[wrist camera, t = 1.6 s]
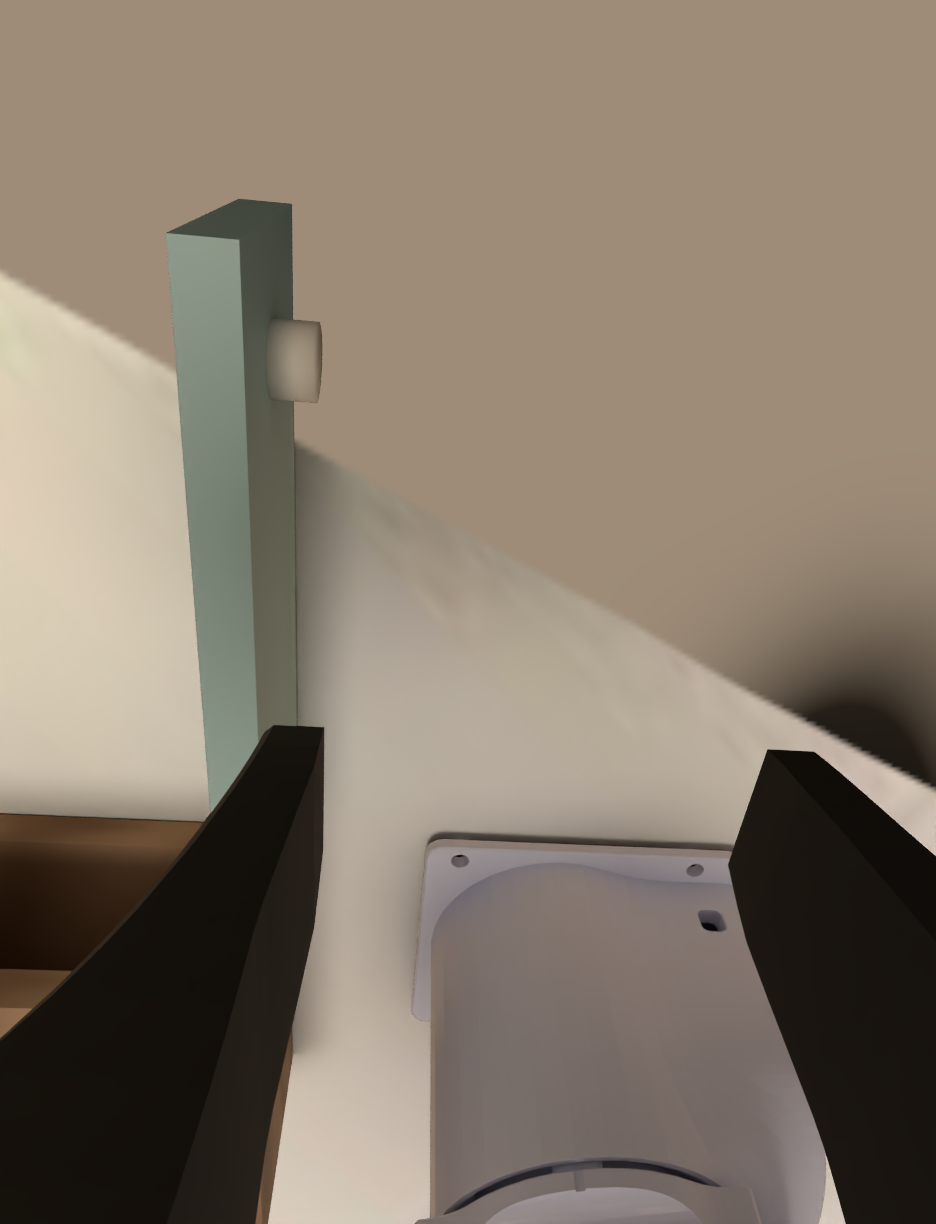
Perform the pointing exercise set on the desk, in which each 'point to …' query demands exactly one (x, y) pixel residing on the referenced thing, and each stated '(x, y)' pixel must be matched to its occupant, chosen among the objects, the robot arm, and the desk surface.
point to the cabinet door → (241, 465)
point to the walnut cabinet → (86, 913)
